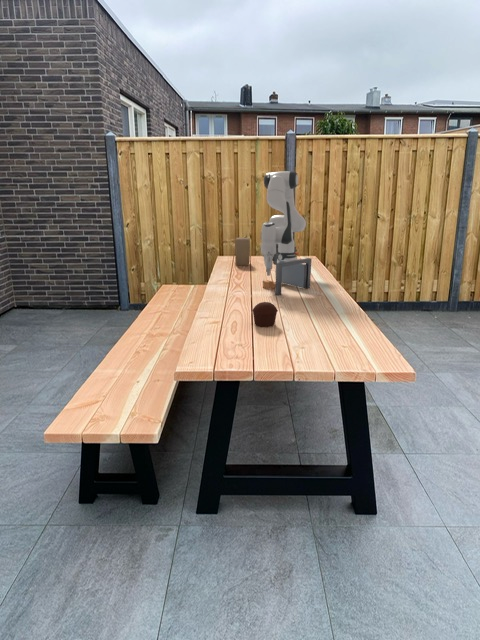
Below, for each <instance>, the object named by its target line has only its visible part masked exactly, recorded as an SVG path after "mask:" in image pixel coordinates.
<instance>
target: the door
mask: <svg viewBox="0 0 480 640" xmlns="http://www.w3.org/2000/svg"><path fill="white" fill-rule="evenodd" d="M281 262H287V261H284V260H279V263H281ZM305 264H306V263H302V264H296V265H290V266H285V267H282V284H283V285H289V286H293V287H296V288H301V289H305V288H306V272H307V265H305Z"/></svg>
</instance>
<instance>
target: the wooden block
mask: <svg viewBox="0 0 480 640" xmlns="http://www.w3.org/2000/svg"><path fill="white" fill-rule="evenodd" d="M234 241H235V243H234V244H235V247H234V248H235V252H234V253H235V257H234V258H235V260H234V261H235V263H234V264H235V266H236V267H238V266H239V267H248V266H249V265H250V261H251V259H250V258H251V257H250V256H251V255H250V251H251V249H250V246H251V245H250V244H251V238H249V237H237V238H235V240H234Z"/></svg>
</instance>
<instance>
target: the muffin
mask: <svg viewBox="0 0 480 640" xmlns="http://www.w3.org/2000/svg"><path fill="white" fill-rule="evenodd" d="M251 311H252V315H253V322H254V325H255V326H256V327H258V328H272V327H274V326H275V324H276V319H277V313H278V311H279V310H278V308H277V307H276V305H275V304H273V303H272V302H269V301H263V302H262V301H261V302H259V303H258V304H256V305H254V307H253V309H252V310H251Z"/></svg>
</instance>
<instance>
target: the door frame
mask: <svg viewBox="0 0 480 640" xmlns="http://www.w3.org/2000/svg"><path fill="white" fill-rule="evenodd" d="M296 264H305V265H307V272H306V290H309V289H311V275H312V273H311V272H312V258H309V257H307V258H305V257H304V258H301V259H298V260H293V261H287V262H281V263H276V264H275V269H276V270H275V271H276V272H275V282H276V285H275V291H274V292H275V294H274V295H275V296H281V295H282V287H283V286H282V284H283V283H282V267H285V266H290V265H296Z"/></svg>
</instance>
